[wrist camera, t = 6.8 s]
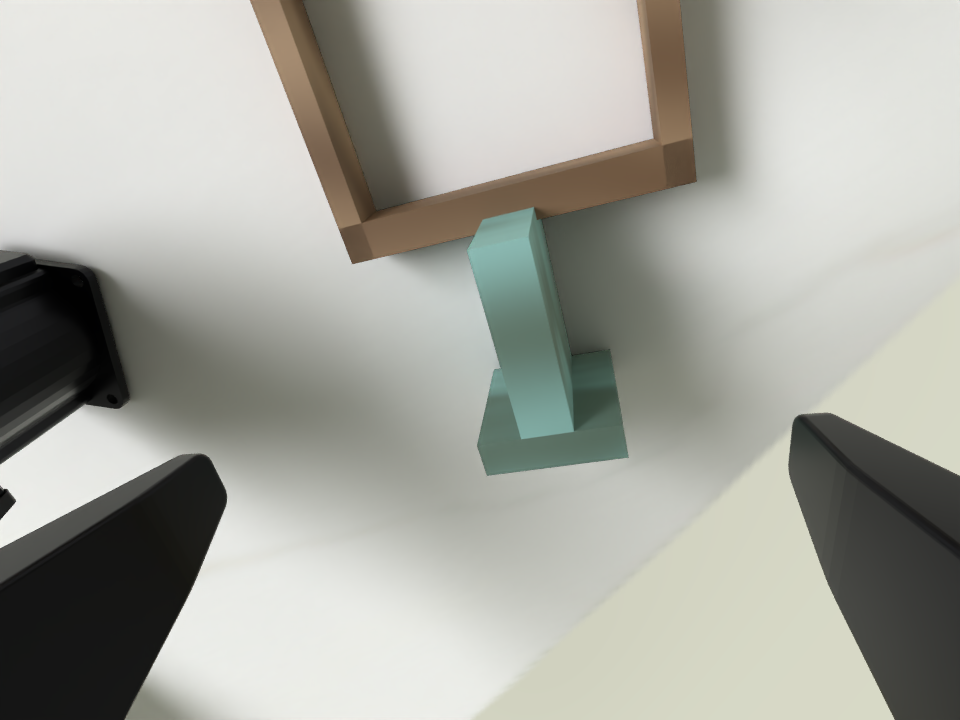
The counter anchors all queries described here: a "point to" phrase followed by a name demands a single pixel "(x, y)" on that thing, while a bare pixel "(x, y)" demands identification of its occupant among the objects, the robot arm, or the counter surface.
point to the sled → (506, 240)
